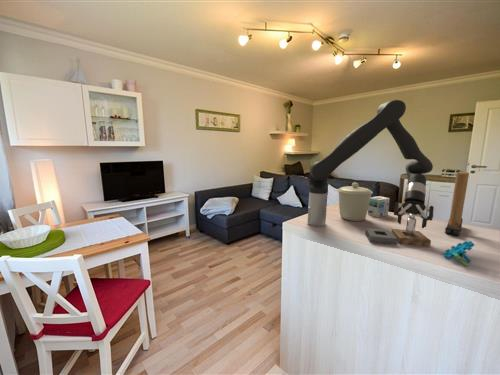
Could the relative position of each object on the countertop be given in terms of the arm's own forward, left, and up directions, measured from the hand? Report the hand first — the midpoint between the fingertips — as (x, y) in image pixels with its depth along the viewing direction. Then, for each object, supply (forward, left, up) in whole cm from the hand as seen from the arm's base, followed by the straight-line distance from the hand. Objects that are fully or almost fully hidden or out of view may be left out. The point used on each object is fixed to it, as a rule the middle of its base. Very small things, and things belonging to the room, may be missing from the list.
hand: (411, 225), depth 95 cm
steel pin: (+1, +1, -8) cm, 8 cm away
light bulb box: (-2, +40, -8) cm, 41 cm away
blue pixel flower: (+10, -13, -8) cm, 19 cm away
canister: (-18, +28, -8) cm, 35 cm away
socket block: (-11, -1, -8) cm, 14 cm away
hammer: (+27, +21, -8) cm, 35 cm away
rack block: (+1, +1, -8) cm, 8 cm away
